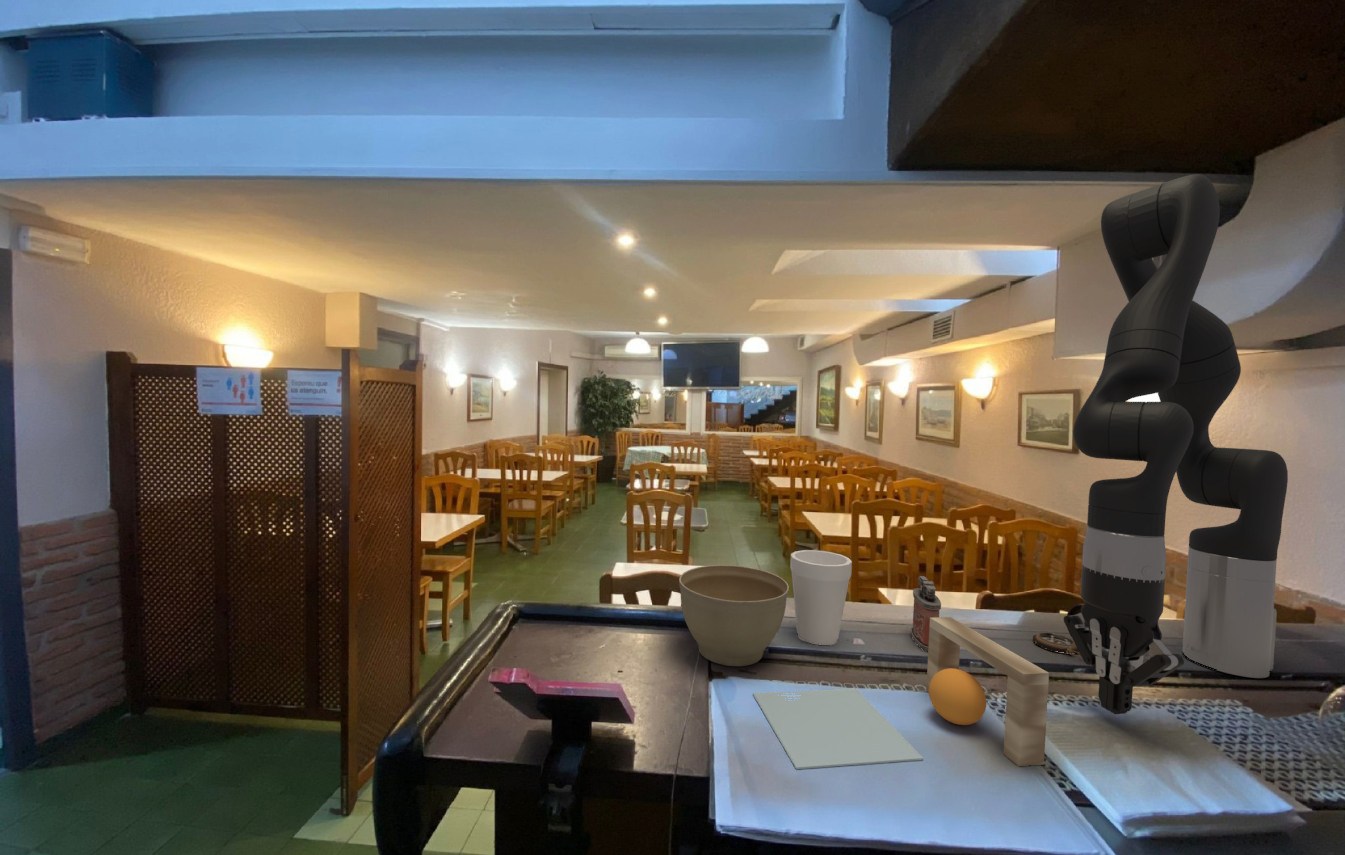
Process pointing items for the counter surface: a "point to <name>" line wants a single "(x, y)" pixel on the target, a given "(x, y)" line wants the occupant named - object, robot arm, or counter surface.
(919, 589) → the lighter
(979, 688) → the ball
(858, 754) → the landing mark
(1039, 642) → the compass
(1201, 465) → the robot arm
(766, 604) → the planter bowl
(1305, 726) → the counter surface
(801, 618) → the foam cup
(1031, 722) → the bridge
